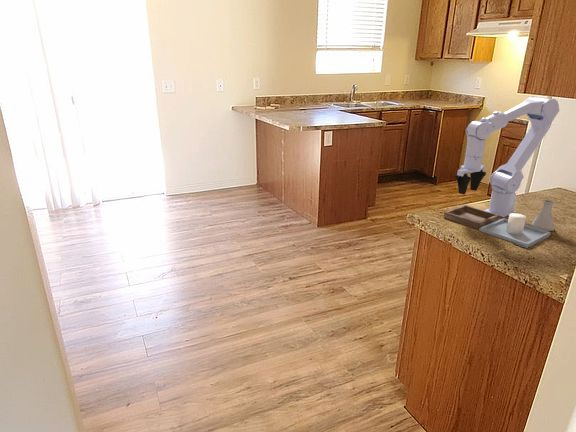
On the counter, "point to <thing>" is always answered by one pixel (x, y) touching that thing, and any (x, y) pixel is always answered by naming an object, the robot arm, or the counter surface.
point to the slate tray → (524, 240)
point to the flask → (545, 217)
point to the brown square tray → (471, 216)
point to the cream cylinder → (515, 224)
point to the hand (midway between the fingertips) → (467, 191)
